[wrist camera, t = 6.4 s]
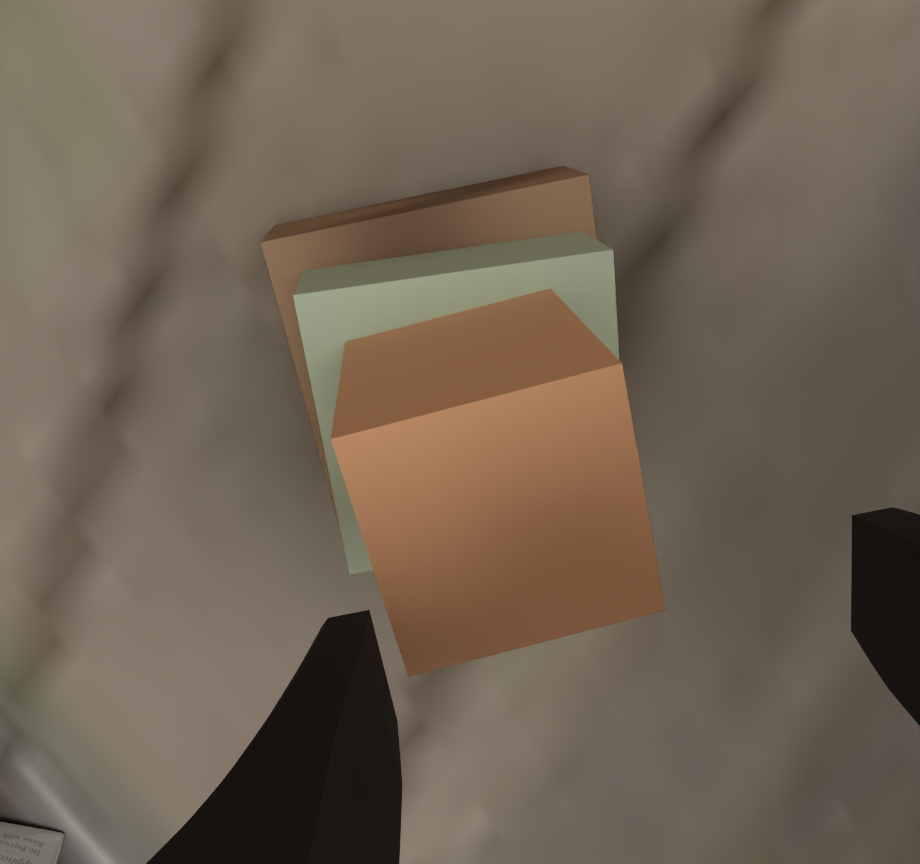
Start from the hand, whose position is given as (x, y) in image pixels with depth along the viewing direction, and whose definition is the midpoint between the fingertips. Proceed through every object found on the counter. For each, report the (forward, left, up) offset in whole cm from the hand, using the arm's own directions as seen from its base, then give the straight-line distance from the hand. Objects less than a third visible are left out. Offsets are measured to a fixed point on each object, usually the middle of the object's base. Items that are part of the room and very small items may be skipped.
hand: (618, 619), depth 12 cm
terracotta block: (+1, -2, -5) cm, 6 cm away
